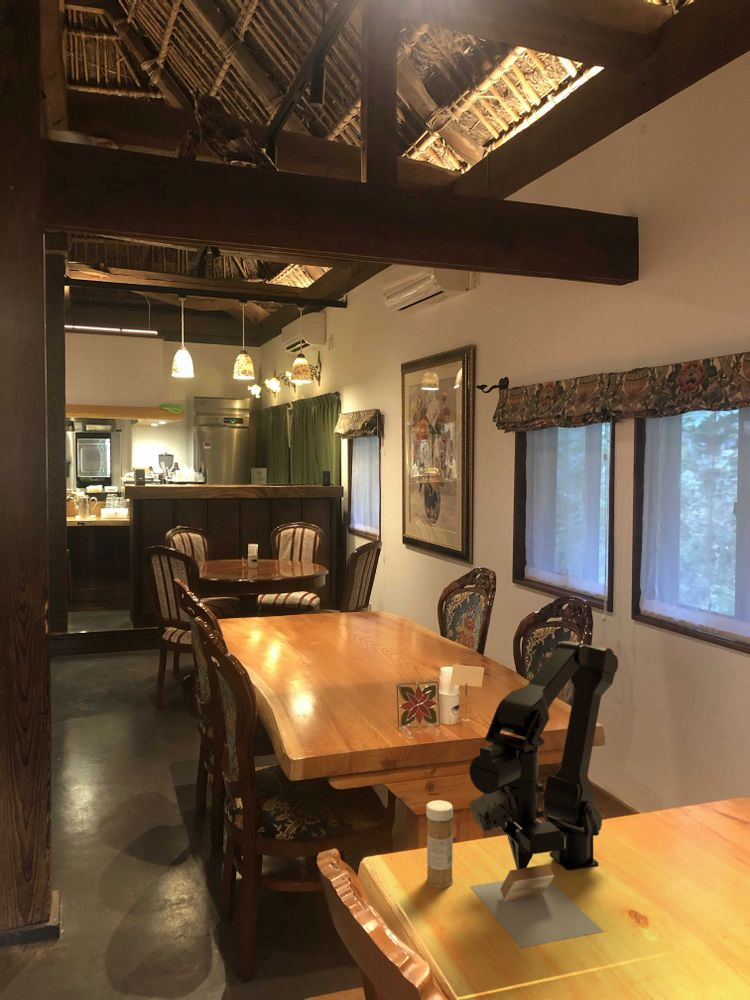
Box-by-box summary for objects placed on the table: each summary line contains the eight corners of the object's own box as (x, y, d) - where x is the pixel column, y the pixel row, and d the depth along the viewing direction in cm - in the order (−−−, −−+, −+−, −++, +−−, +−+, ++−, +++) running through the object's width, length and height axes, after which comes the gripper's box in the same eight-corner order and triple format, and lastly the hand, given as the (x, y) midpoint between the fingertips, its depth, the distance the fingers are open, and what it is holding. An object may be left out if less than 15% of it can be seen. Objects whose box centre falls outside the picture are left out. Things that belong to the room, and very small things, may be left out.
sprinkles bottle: (437, 873, 129) (437, 797, 129) (458, 882, 125) (458, 804, 126) (421, 883, 125) (420, 804, 125) (442, 893, 122) (441, 812, 122)
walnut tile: (537, 882, 123) (548, 863, 119) (542, 894, 121) (554, 876, 118) (500, 888, 121) (510, 870, 117) (504, 901, 119) (514, 882, 116)
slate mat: (543, 875, 128) (543, 873, 128) (603, 933, 111) (603, 931, 111) (469, 888, 124) (469, 886, 124) (520, 949, 106) (520, 947, 106)
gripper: (453, 762, 128) (453, 851, 128) (501, 803, 110) (502, 908, 110) (511, 755, 131) (511, 843, 131) (567, 795, 113) (567, 896, 113)
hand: (520, 870), depth 121 cm, fingers closed
